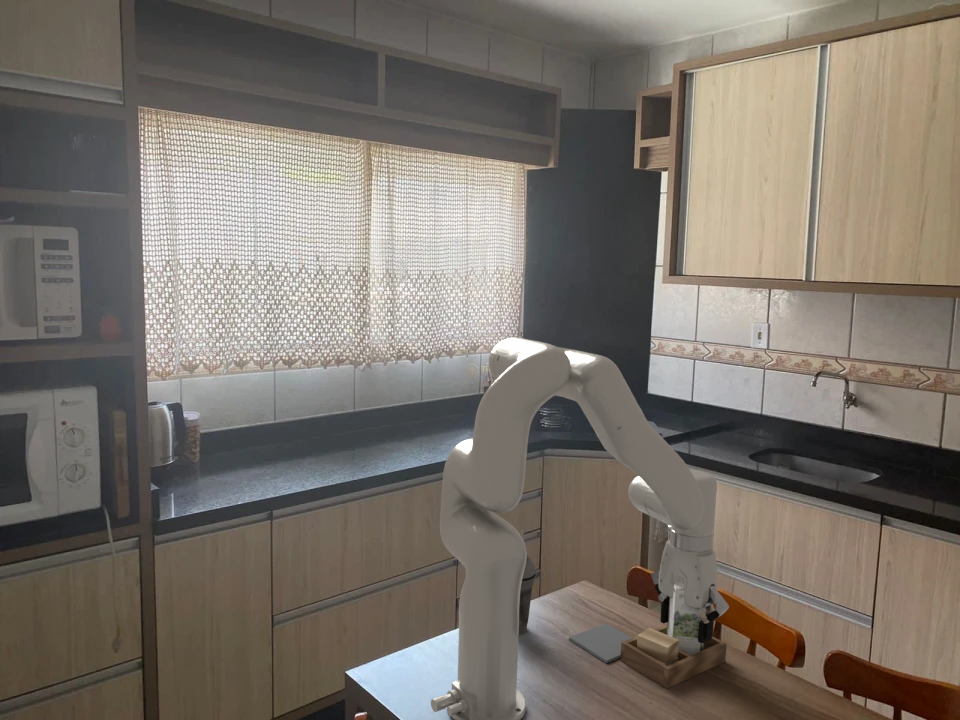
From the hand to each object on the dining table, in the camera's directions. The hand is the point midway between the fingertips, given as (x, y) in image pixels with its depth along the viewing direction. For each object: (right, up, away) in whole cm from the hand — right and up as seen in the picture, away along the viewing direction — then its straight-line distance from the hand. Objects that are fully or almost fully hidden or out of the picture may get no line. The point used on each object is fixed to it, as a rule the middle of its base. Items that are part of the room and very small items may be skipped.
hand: (685, 630), depth 136 cm
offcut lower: (-6, -6, -4) cm, 9 cm away
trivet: (-14, -4, +4) cm, 15 cm away
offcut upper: (-6, -3, -4) cm, 8 cm away
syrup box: (0, -5, +1) cm, 5 cm away
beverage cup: (-31, -3, +9) cm, 32 cm away
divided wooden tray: (-3, -5, -1) cm, 6 cm away
